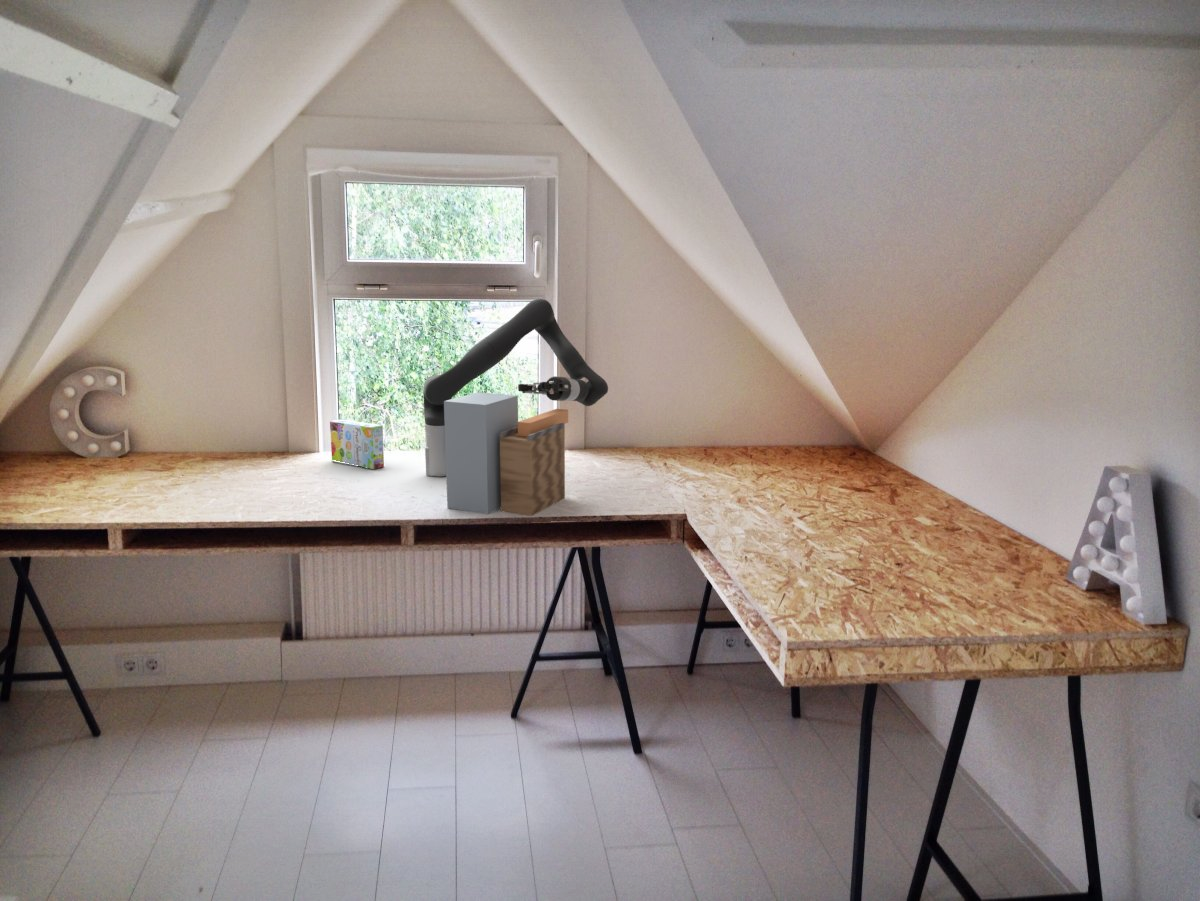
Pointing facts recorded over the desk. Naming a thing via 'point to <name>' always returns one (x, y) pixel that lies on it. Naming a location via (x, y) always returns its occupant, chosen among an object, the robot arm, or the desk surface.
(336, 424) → the snack box
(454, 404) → the grey tall rectangular block
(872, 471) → the desk surface
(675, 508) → the desk surface
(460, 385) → the robot arm
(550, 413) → the rail
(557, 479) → the wood grain block
